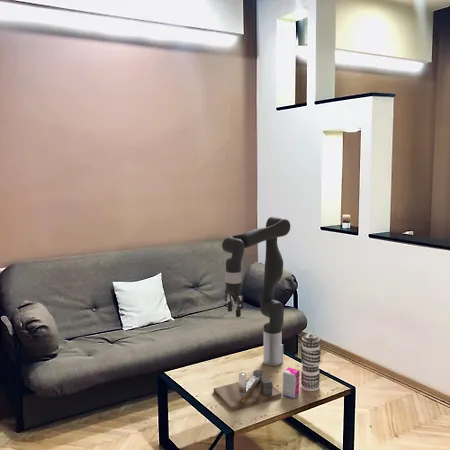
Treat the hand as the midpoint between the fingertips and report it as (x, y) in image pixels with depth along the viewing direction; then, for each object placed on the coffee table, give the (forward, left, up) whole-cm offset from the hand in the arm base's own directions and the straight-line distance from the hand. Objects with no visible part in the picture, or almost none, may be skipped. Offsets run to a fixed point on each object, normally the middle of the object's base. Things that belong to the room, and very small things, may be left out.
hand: (234, 314), depth 232 cm
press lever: (0, +15, -31) cm, 34 cm away
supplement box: (-16, +24, -33) cm, 44 cm away
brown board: (+2, +15, -33) cm, 36 cm away
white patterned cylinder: (-28, +22, -33) cm, 49 cm away
